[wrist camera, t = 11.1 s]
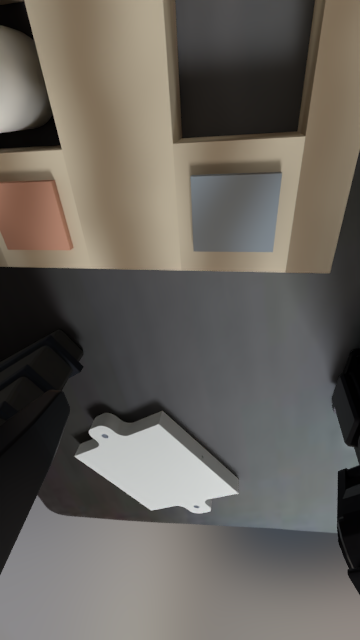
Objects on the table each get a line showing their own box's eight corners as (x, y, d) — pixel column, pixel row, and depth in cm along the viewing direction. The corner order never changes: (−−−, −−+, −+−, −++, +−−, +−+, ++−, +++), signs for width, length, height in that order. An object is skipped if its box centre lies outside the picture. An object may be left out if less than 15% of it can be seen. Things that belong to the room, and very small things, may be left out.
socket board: (408, -160, 10) (459, -241, 7) (320, 253, 18) (331, 277, 15) (-123, -50, 13) (-199, -80, 11) (3, 250, 22) (-27, 269, 19)
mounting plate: (251, 486, 35) (251, 504, 33) (167, 503, 41) (164, 519, 40) (145, 391, 28) (140, 407, 27) (65, 428, 35) (56, 443, 33)
